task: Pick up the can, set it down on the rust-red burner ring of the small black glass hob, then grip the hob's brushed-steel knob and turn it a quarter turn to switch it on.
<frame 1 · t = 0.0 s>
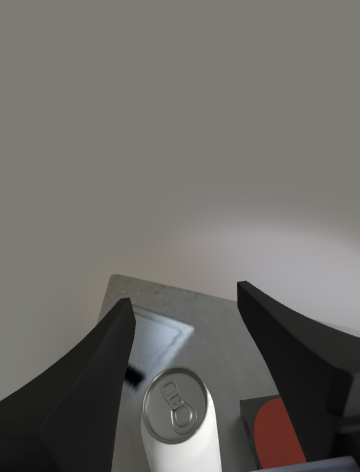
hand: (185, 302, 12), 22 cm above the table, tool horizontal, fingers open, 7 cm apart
burner ring: (302, 467, 18), resting on hob
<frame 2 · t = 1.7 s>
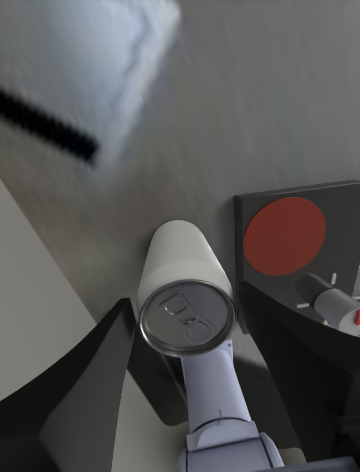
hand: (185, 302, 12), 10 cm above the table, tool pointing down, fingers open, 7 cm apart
can: (177, 244, 22), on the table
burner ring: (271, 232, 22), resting on hob
knob: (342, 312, 21), point 4 cm above the table, hinge at 0.0°
hob: (288, 258, 23), on the table
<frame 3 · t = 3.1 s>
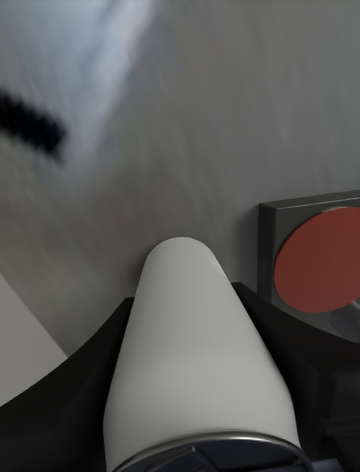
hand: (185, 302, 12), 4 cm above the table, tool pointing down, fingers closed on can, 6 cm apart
can: (180, 268, 16), on the table, touching gripper
burner ring: (306, 251, 16), resting on hob
hob: (326, 284, 17), on the table
when the fingers open (7 cm above the table, at t = 7.6 s): can stays where it is, resting on burner ring.
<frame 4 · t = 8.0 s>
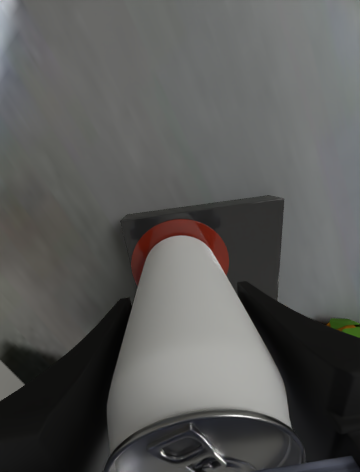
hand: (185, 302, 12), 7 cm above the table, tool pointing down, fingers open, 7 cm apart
can: (180, 265, 16), point 3 cm above the table, touching burner ring
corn: (344, 346, 25), on the table
burner ring: (179, 254, 19), resting on hob
hob: (205, 283, 20), on the table
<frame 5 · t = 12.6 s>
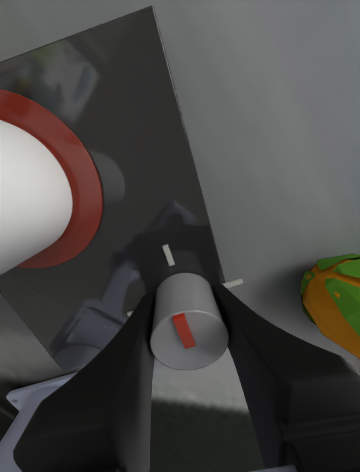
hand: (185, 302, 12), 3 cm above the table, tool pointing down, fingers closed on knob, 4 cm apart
can: (15, 191, 9), point 3 cm above the table, touching burner ring
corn: (357, 304, 17), on the table
burner ring: (47, 188, 12), resting on hob
knob: (186, 318, 10), point 4 cm above the table, hinge at 0.0°, touching gripper
hob: (107, 231, 13), on the table
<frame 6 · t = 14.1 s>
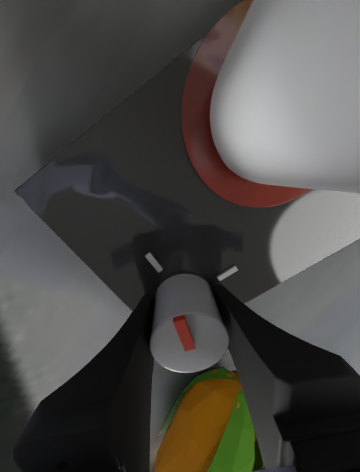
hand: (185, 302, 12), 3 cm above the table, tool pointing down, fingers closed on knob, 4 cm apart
can: (270, 116, 9), point 3 cm above the table, touching burner ring
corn: (192, 406, 20), on the table
burner ring: (248, 129, 11), resting on hob
knob: (186, 320, 10), point 4 cm above the table, hinge at 73.1°, touching gripper
hob: (214, 198, 12), on the table
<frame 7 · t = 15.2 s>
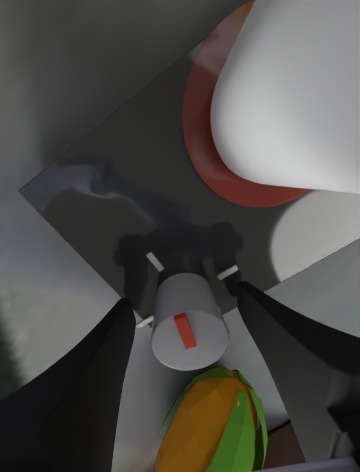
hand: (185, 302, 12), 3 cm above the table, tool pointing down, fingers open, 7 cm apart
can: (270, 117, 9), point 3 cm above the table, touching burner ring
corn: (192, 405, 20), on the table
burner ring: (249, 130, 11), resting on hob
knob: (187, 318, 10), point 4 cm above the table, hinge at 72.9°
letter holder: (252, 460, 25), on the table
hob: (215, 198, 13), on the table
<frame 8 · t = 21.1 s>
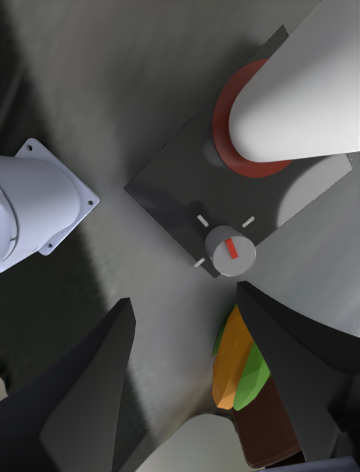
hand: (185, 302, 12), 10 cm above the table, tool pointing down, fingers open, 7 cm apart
can: (261, 123, 16), point 3 cm above the table, touching burner ring
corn: (232, 335, 28), on the table
burner ring: (249, 130, 18), resting on hob
knob: (228, 249, 17), point 4 cm above the table, hinge at 72.9°
letter holder: (283, 380, 32), on the table
hob: (232, 177, 19), on the table
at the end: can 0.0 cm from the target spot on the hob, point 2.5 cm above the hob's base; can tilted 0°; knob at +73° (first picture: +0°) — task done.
